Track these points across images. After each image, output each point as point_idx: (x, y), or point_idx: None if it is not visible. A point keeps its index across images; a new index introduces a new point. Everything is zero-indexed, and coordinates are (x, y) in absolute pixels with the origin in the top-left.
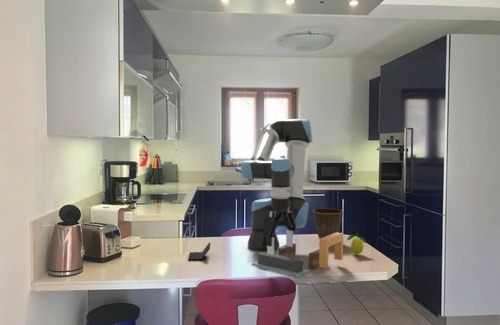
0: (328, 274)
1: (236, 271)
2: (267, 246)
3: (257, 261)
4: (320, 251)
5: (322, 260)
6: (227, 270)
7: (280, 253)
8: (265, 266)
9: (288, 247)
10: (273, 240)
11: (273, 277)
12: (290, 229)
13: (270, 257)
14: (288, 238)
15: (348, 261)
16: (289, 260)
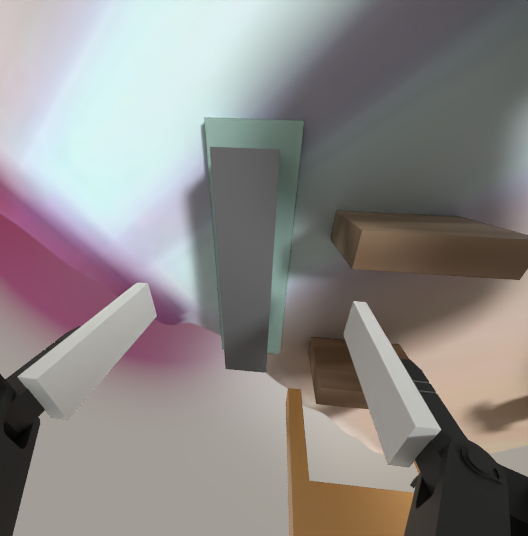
0: (290, 386)
1: (75, 124)
2: (103, 311)
3: (255, 123)
4: (290, 452)
5: (287, 418)
6: (38, 62)
7: (346, 236)
8: (214, 215)
9: (413, 270)
10: (81, 394)
11: (156, 291)
12: (428, 469)
13: (218, 247)
14: (368, 359)
15: (450, 396)
16: (225, 339)
